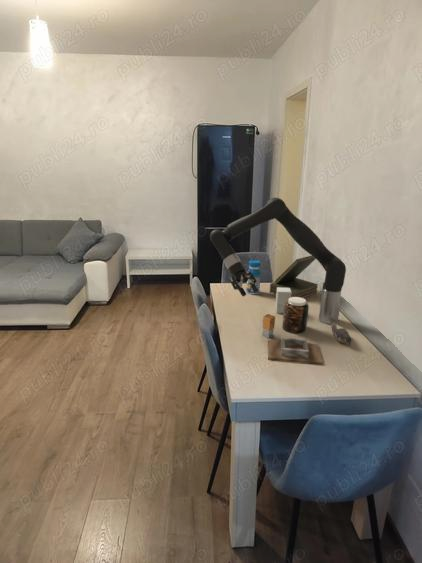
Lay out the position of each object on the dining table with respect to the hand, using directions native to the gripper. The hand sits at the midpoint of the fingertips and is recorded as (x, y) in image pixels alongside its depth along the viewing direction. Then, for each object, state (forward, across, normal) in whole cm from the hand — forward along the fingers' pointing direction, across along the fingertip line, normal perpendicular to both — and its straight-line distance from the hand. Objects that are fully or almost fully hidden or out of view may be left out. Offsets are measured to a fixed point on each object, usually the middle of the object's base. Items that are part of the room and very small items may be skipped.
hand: (250, 293), depth 175 cm
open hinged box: (+3, +60, +23) cm, 65 cm away
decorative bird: (+37, +25, -12) cm, 46 cm away
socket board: (+33, -4, -8) cm, 34 cm away
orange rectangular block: (+21, 0, +4) cm, 21 cm away
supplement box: (+12, +30, +14) cm, 35 cm away
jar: (+24, +17, +2) cm, 29 cm away
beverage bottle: (-10, +41, +35) cm, 55 cm away
